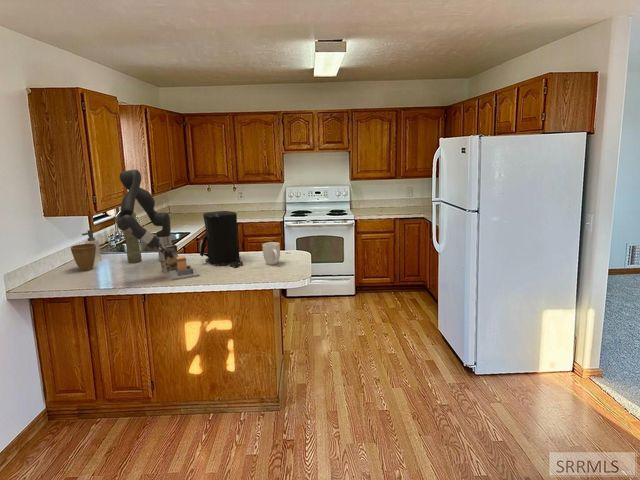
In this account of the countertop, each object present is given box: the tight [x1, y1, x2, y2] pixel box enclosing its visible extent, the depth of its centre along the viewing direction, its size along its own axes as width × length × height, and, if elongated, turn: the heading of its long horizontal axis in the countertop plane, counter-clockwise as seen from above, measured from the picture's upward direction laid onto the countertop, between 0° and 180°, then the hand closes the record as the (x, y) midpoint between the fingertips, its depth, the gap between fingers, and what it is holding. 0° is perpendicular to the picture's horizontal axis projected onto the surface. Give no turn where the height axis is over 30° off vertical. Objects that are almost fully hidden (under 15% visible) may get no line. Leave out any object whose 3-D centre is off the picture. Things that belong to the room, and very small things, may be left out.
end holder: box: [168, 264, 200, 281], centre depth 287 cm, size 18×16×4 cm
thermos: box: [122, 212, 142, 264], centre depth 320 cm, size 9×12×35 cm
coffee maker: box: [199, 210, 244, 268], centre depth 308 cm, size 23×32×34 cm
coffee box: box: [160, 244, 179, 274], centre depth 296 cm, size 9×6×16 cm
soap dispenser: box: [81, 229, 102, 263], centre depth 328 cm, size 6×9×22 cm
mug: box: [262, 241, 281, 266], centre depth 300 cm, size 15×11×13 cm
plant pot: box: [70, 243, 96, 272], centre depth 308 cm, size 15×15×16 cm
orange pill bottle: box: [176, 255, 188, 271], centre depth 286 cm, size 5×5×10 cm
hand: (171, 255), depth 282 cm, fingers open, 8 cm apart
